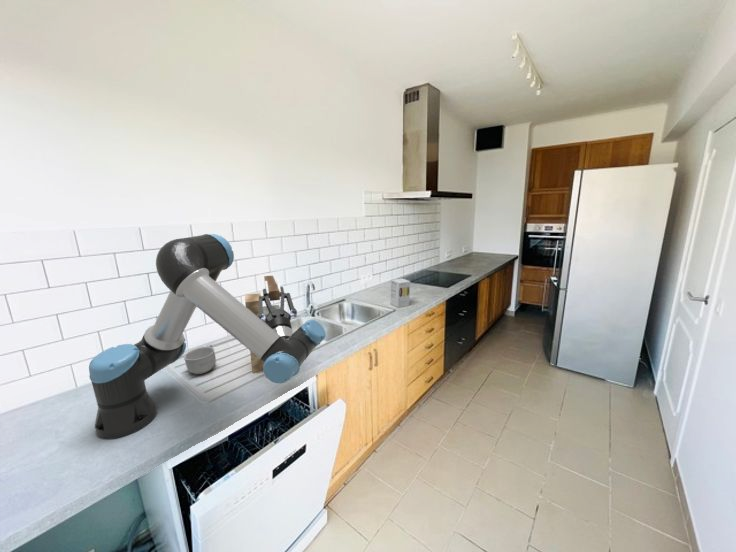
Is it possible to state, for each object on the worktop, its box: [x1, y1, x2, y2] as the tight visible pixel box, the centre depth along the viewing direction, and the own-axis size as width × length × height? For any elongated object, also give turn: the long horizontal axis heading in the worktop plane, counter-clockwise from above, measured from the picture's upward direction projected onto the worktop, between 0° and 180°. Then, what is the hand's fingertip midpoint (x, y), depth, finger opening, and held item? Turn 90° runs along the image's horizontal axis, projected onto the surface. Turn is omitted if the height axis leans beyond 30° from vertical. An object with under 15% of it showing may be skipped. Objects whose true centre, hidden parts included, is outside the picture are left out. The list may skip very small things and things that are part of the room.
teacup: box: [183, 344, 217, 375], centre depth 122 cm, size 14×11×8 cm
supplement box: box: [389, 278, 411, 308], centre depth 197 cm, size 10×9×17 cm
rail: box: [263, 275, 281, 302], centre depth 118 cm, size 4×24×4 cm, turn 23°
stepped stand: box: [244, 292, 280, 374], centre depth 123 cm, size 13×10×30 cm
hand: (271, 282), depth 114 cm, fingers closed on rail, 3 cm apart
